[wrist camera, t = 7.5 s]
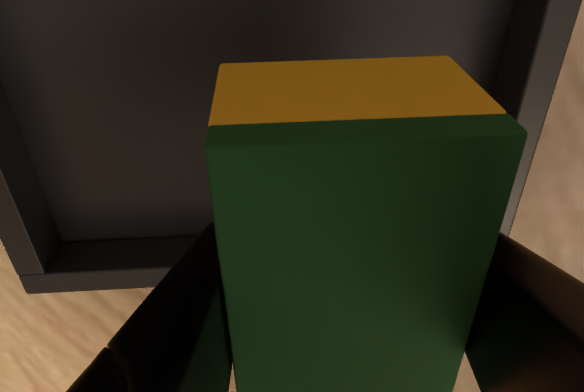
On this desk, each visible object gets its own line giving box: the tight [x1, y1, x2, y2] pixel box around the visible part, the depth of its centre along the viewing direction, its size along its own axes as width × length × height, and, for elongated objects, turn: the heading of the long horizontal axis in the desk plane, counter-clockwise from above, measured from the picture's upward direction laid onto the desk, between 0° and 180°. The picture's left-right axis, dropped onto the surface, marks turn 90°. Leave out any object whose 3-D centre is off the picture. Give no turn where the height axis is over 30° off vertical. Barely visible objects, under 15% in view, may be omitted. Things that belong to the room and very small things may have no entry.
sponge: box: [204, 56, 528, 392], centre depth 9 cm, size 4×6×3 cm, turn 1°
